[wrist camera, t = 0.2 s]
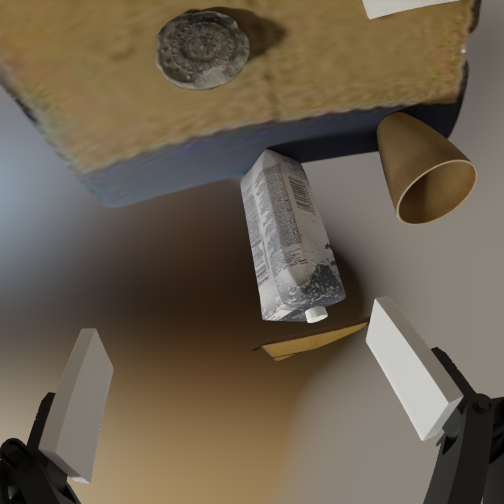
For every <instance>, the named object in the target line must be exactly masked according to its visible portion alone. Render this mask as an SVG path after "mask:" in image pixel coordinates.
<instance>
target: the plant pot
mask: <svg viewBox="0 0 504 504" xmlns="http://www.w3.org/2000/svg"><path fill="white" fill-rule="evenodd" d="M377 140H378V147H379V153H380V158H381V163H382V167H383V171H384V175H385V179H386V182H387V186H388V189H389V193H390V196H391V199H392V202H393V205H394V208H395V211H396V214H397V216H398V218H399V220H400V221H401V222H403V223H405V224H408V225H423V224H427V223H430V222H433V221H436V220H438V219H440V218H442V217H444V216H446V215H448V214H449V213H451V212H452V211H453V210H455V209H456V208H457V207H459V206H460V205H461V204H462V203H463V202H464V201H465V200H466V198H467V197H468V196H469V195H470V193H471V192H472V190H473V189H474V186H475V184H476V181H477V170H476V167H475V166H474V165H473V164H472V163H471V162H470V160H469V159H468V158H467V157H466V156H465V155H464V154H463V153H462V152H460V150H458V149H457V148H456V147H455V146H454V145H453V144H452V143H451V142H450V141H449V140H447V139H446V138H445V137H444V136H442V135H441V134H440V133H438V132H437V131H435V130H434V129H433V128H431V127H430V126H428V125H426V124H425V123H423V122H421V121H420V120H418V119H416V118H414V117H412V116H410V115H408V114H406V113H402V112H396V113H392V114H390V115H388V116H386V117H385V118H384V119H383V120H382V121H381V122H380V124H379V125H378V128H377Z"/></svg>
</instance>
